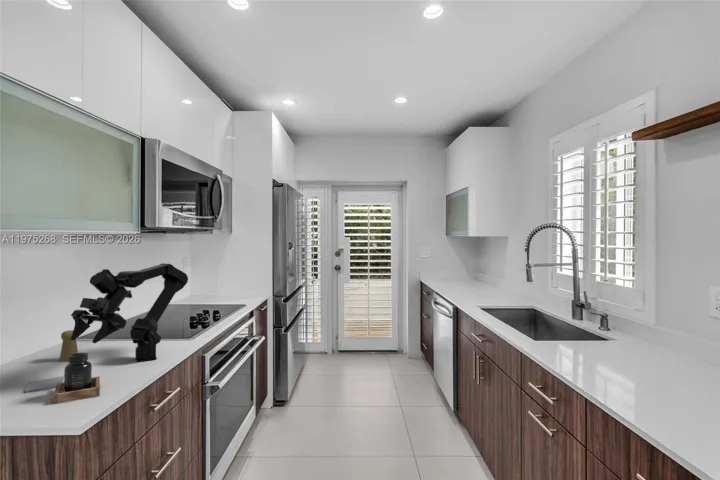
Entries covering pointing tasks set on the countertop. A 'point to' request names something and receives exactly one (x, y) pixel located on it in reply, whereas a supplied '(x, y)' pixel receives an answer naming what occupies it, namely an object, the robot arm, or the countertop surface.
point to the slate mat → (43, 384)
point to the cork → (67, 346)
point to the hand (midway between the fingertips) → (82, 341)
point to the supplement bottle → (78, 373)
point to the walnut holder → (76, 392)
